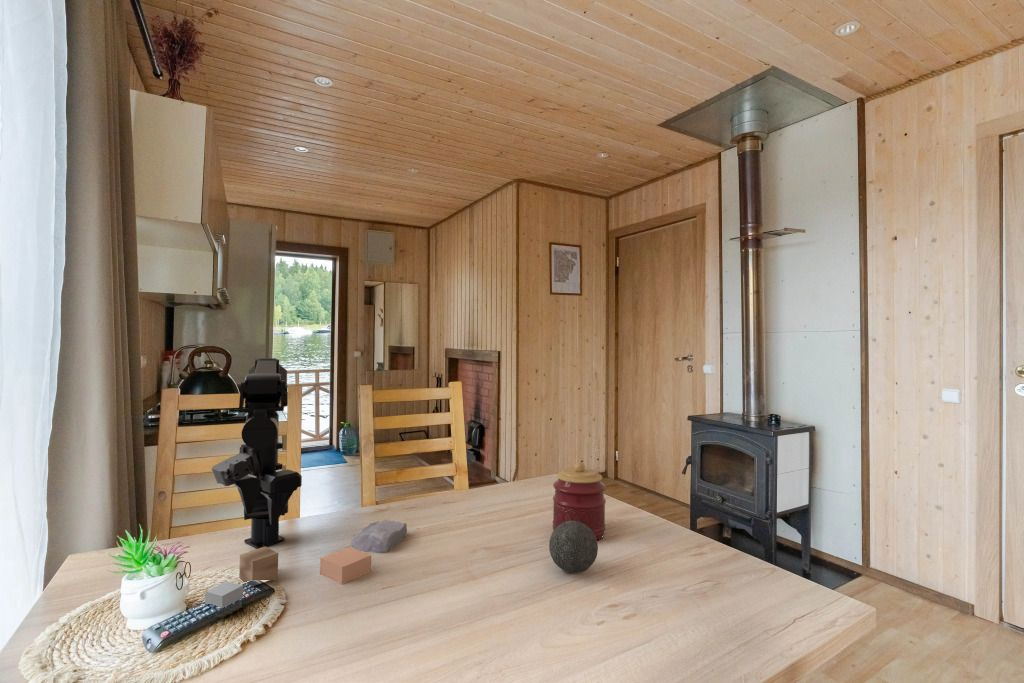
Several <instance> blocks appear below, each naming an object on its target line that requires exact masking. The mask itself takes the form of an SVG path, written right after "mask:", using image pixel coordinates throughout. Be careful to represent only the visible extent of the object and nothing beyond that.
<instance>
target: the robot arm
mask: <svg viewBox="0 0 1024 683" xmlns="http://www.w3.org/2000/svg"><path fill="white" fill-rule="evenodd" d="M254 360H255V361H254V365H253V367H251V368H250V369H248V373H247V375H245V377H244V380H241V381H240V391H239V392H240V393H239V402H238V413H240V414H242V413H247V415H246V419H245V423H244V426H243V427H242V430H241V439H242V442H243V444H240V445H241V446H240V447H239V453H237V454H236V455H232V456H230V457H228V458H226V459H225V460H223V461H221V462H219V463H217V464H215V465H213V466H212V467H211V471H212V473H213V476H214V478H215V480H216V483H217V484H218V485H219V484H220V485H223V486H224V487H229V486H235V487H236V488H237V490H238V494H239V497H240V499H241V502H242V505H243V520H244V521H247V520H250V522H251V524H250V525H251V526H250V537H249V538H246V539H244V540H243V541H244V543H245V544H247V545H250V546H252V547H253V548H256V549H259V548H262V547H268V546H271V545H274V544H277V543H281V542H283V541H285V540H286V538H285V537H284V536H282V535H279V534H280V532H279V531H280V517H281V516H285V515H286V514H287V513H288V512H289V500H290V499H291V496H292V495H293V494H294V491H297V490H298V488H301V487H302V485H303V484H302V483H303V481H302V478H303V477H302V476H303V475H301V473H299V472H298V471H294V470H291V469H283V463H280V462H279V450H281V449H283V448H284V447H283V446H284V443H283V442H280V441H279V430H280V428H279V420H280V419H279V418H280V414H279V413H278V412H284V409H285V407H288V370H287V369H286V368H285V367H283V366H282V365H281V363H280V359H279V358H278V359H277V358H276V357H270V358H269V357H268V358H267V357H264V358H263V357H262V358H261V357H260V358H258V359H254Z"/></svg>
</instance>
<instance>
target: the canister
mask: <svg viewBox="0 0 1024 683" xmlns="http://www.w3.org/2000/svg"><path fill="white" fill-rule="evenodd" d="M585 466H586V465H585V464H584V462H582V461H577V462H575V463H574V465H573V467H565V468H563V469H562V470H561V471H559V472H558V473H556V477H557V480H555V481H554V482H553V484H552V486H553V488H554V495H553V497H552V500H553V511H552V512H553V520H552V528H553V531H554V530H555V528H556V527H557V526H559V525H560V524H562V523H564V522H566V521H578V522H581V523H583V524H585V525H587V526H588V527H589V528H590V529H591V530H592V531H593V533H594V534H595V536H596V539H599V538H601V537H602V536H603V535H604V536H605V531H606V517H605V516H606V503H607V501H606V498H605V497H604V496H605V495H604V492H605V490H606V484H604V483H603V482H602V480H603V475H601V474H600V473H599V472H597V470H595V469H593V468H588V467H585ZM604 536H603V537H604ZM603 537H602V538H603ZM602 538H601V539H602ZM599 540H600V539H599Z"/></svg>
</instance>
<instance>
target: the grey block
mask: <svg viewBox="0 0 1024 683" xmlns="http://www.w3.org/2000/svg"><path fill="white" fill-rule="evenodd" d="M204 592H205V593H204V595H205V596H204V605H205V604H213V605H216V606H218V607H220V608H224V607H226V606H228V605H230V604H231V603H233V602H235V601H237V600H239V599H241V598H242V597H243V598H244V585H242V584H239V583H236V582H235V583H234V582H233V581H232V582H231V581H228V580H226V581H224V582H221V583H220V584H218V585H216V586H213V587H212V588H210V589H208V590H206V591H204Z"/></svg>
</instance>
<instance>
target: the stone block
mask: <svg viewBox="0 0 1024 683" xmlns="http://www.w3.org/2000/svg"><path fill="white" fill-rule="evenodd" d="M407 526H408V525H407V522H400V521H395V520H390V519H389V520H387V519H386V520H379V521H374V522H372V523H371V522H370V523H369V524H368V525H367V526H365V527H363V528H362V529H361V530H360V531H359V532H358V533H357V534H355V535H353V536H352V538H351V545H352V548H354V549H357V550H359V551H362V552H365V553H366V552H371V553H382V554H386V553H388V552H389V551H390V550H392V549H393V548H394V547H395V546H396V545H397V544H398V543H400V541H402V540H401V539H402V538H403V539H404V538H405V537H406V535H407V532H408V527H407ZM391 548H392V549H391Z"/></svg>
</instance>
